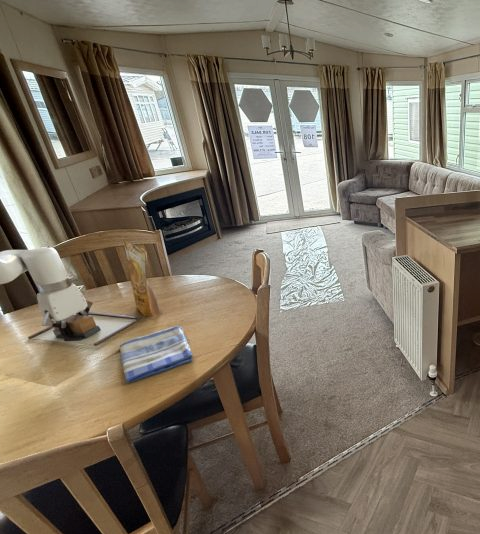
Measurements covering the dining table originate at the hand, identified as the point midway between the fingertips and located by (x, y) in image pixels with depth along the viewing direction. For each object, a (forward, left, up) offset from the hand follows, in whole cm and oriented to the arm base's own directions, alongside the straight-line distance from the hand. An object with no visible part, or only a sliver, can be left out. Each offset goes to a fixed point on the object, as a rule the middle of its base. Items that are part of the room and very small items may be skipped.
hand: (77, 331), depth 118 cm
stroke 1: (-2, -3, -1) cm, 4 cm away
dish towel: (+35, -5, -2) cm, 35 cm away
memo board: (0, +3, -2) cm, 4 cm away
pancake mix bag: (+9, +19, -2) cm, 21 cm away
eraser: (0, 0, -1) cm, 1 cm away
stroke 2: (+3, -4, -1) cm, 5 cm away
